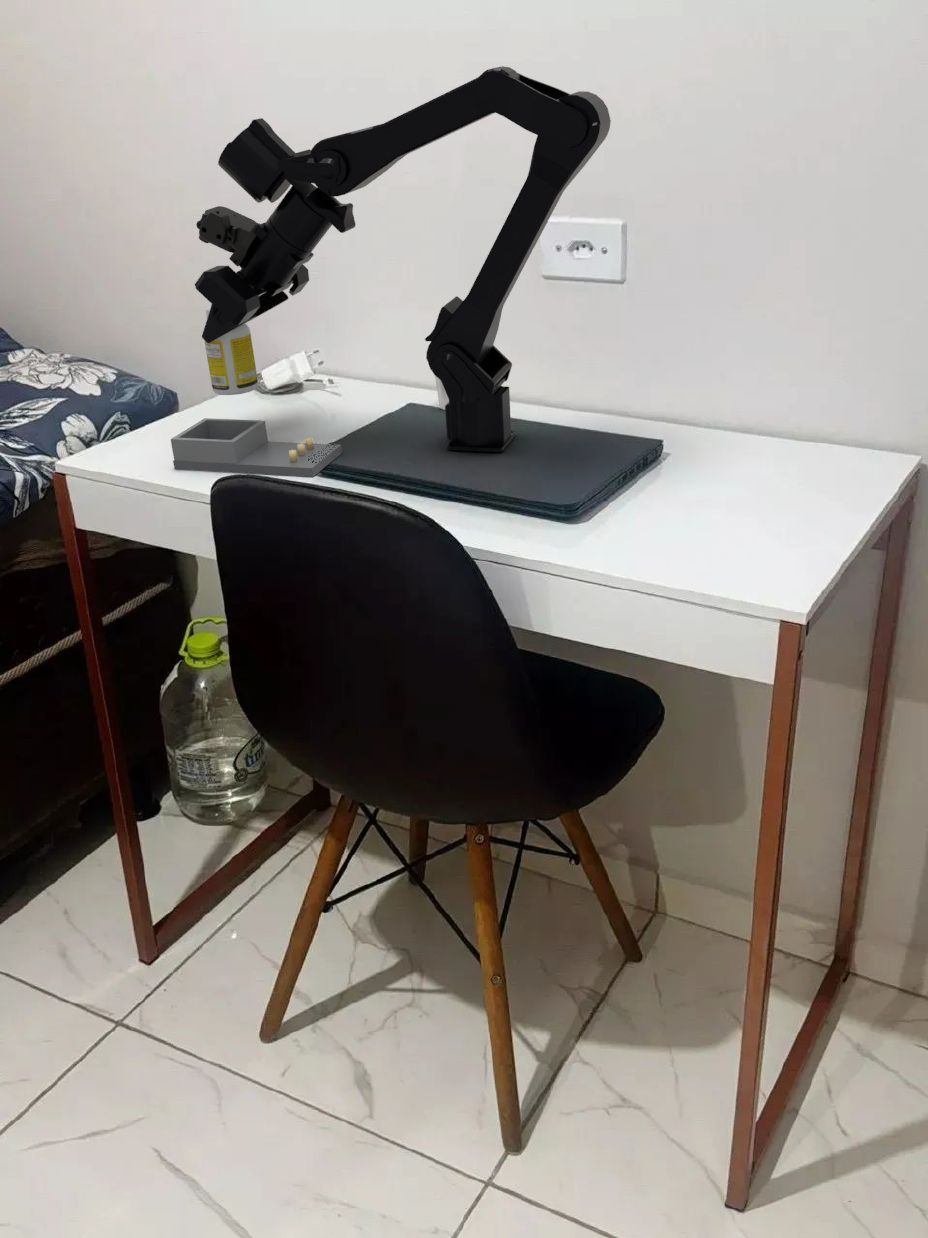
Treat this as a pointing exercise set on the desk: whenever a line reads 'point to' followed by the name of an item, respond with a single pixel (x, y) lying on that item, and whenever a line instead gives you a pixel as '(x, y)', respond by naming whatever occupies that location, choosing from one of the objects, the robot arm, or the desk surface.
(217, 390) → the supplement bottle
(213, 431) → the grey organizer tray
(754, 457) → the desk surface
